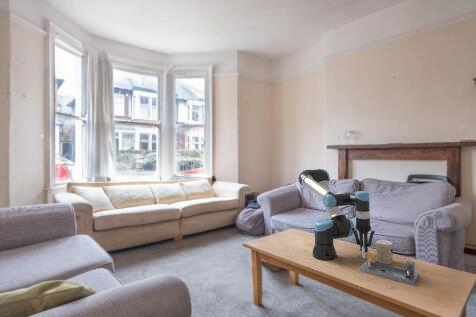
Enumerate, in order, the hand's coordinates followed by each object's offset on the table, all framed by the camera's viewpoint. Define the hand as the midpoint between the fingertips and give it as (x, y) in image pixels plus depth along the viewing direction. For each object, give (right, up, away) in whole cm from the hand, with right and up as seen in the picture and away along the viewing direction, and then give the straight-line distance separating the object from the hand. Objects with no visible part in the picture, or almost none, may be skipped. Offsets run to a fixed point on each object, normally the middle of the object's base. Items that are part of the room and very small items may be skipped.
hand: (364, 257), depth 158 cm
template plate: (+8, -5, -10) cm, 14 cm away
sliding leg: (+2, -3, -4) cm, 5 cm away
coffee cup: (+15, -5, +5) cm, 16 cm away
